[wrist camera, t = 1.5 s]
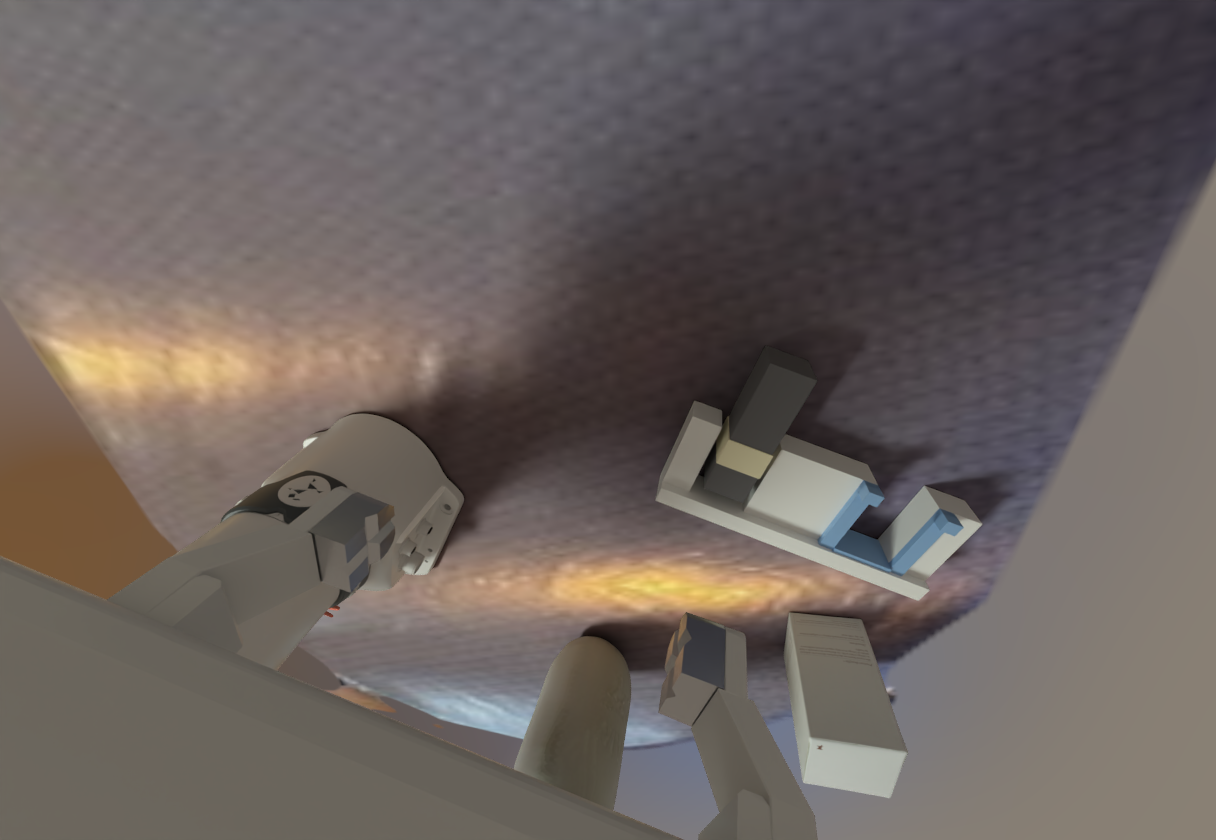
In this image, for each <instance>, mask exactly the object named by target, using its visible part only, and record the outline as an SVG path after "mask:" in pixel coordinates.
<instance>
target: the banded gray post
mask: <svg viewBox="0 0 1216 840" xmlns="http://www.w3.org/2000/svg"><path fill="white" fill-rule="evenodd" d="M816 382H817V378H816V376H815V374H814V372H813V370H812V368H811V366H810V364H809V362H808V361H807V360H805V359H802V358H799V357H796V356H794V355H791V354H788V353H785V352H783V351H780V350H777V349H774V348H772V347H769V346H766V345H765V347H764V349H763V351H762V353H761V355H760V357H759V359H758V360H757V362H756V364H755V366H754V368H753V370H752V372H751V374H750V376H749V378H748V380H747V382H746V384H745V386H744V388H743V390H742V391H741V393H740V395H739V397H738V399H737V401H736V403H735V405H734V407H733V409H732V411H731V413H730V415H729V416H727V418H726V420H725V422H724V424H723V426H722V429H721V431H720V433H719V435H718V437H717V439H716V442H715V444H714V446H713V448H712V450H711V452H710V454H709V456H708V457H707V459H706V461H705V472H704V489H707V490H710V491H712V492H715V493H718V494H720V495H723V496H725V497H728V498H731V499H733V500H736V501H739V502H741V503H743V502H744V501H745V499H746V498H747V496H748V494H749V493H750V491H751V489H752V488H753V486H754V484H755V483H756V481H757V479H760V478H761V476H762V475H763V473H764V471H765V470H766V468H767V466H768V465H769V463H770V461H771V460H772V458H773V457H774V456H773V453H774V452H775V450H776V448H777V447H778V445H779V443H780V442H781V440H782V438H783V437H784V435H785V433H786V432H787V430H788V428H789V427H790V425H791V424H792V422H793V420H794V419H795V417H796V415H797V414H798V412H799V410H800V409H801V407H802V405H803V404H804V402H805V401H806V399H807V397H808V396H809V394H810V392H811V391H812V389H813V387H814V386H815V384H816Z"/></svg>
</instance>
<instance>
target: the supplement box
mask: <svg viewBox="0 0 1216 840" xmlns="http://www.w3.org/2000/svg"><path fill="white" fill-rule="evenodd" d="M784 661H785V667H786V673H787V680H788V687H789V693H790V700H791V707H792V714H793V721H794V726H795V734H796V740H797V746H798V754H799V759H800V766H801V772H802V779H803V782H804V783H807V784H813V785H820V786H825V787H831V788H837V789H843V790H849V791H854V792H860V793H865V794H871V795H876V796H881V797H886V798H891V795H892V792H893V790H894V787H895V784H896V781H897V779H898V776H899V773H900V771H901V769H902V766H903V764H904V762H905V760H906V757H907V755H908V751H907V748H906V746H905V743H904V740H903V738H902V735H901V732H900V729H899V726H898V724H897V721H896V718H895V715H894V712H893V709H892V706H891V703H890V700H889V697H888V694H887V691H886V688H885V685H884V682H883V679H882V676H881V673H880V670H879V667H878V664H877V661H876V658H875V656H874V653H873V650H872V647H871V644H870V641H869V639H868V636H867V633H866V630H865V627H864V624H863V622H862V620H861V619H853V618H842V617H831V616H821V615H811V614H801V613H789V617H788V625H787V633H786V640H785V648H784Z"/></svg>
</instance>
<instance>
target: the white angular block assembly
mask: <svg viewBox="0 0 1216 840" xmlns="http://www.w3.org/2000/svg"><path fill="white" fill-rule="evenodd" d="M721 429H722V410H719V409H717V408H714V407H711V406H708V405H706V404H703V403H700V402H698V401H695V400H694V402H693V405H692V407H691V409H690V411H689V413H688V415H687V418H686V420H685V422H684V424H683V426H682V429H681V431H680V433H679V435H678V437H677V439H676V442H675V444H674V446H673V448H672V450H671V453H670V455H669V457H668V459H667V461H666V463H665V466H664V468H663V470H662V472H661V474H660V479H659V484H658V490H657V495H656V500H655V501H658V502H660V503H663V504H666V505H668V506H671V507H673V508H676V509H679V510H681V511H684V512H687V513H689V514H692V515H694V516H697V517H700V518H702V519H705V520H708V521H710V522H713V523H715V524H718V525H721V526H723V527H726V528H729V529H731V530H734V531H736V532H739V533H742V534H744V535H747V536H750V537H752V538H755V539H757V540H760V541H763V542H765V543H768V544H771V545H773V546H776V547H778V548H781V549H784V550H786V551H789V552H792V553H794V554H797V555H799V556H802V557H805V558H807V559H810V560H813V561H815V562H818V563H820V564H823V565H826V566H828V567H831V568H833V569H836V570H839V571H841V572H844V573H847V574H849V575H852V576H854V577H857V578H860V579H862V580H865V581H868V582H870V583H873V584H875V585H878V586H881V587H883V588H886V589H889V590H891V591H894V592H896V593H899V594H902V595H904V596H907V597H910V598H912V599H915V600H917V601H919V600H920V599H921V598H922V597H923V596H924V595H925V594H926V593H927V592H928V591H929V588H928V586H927V584H926V582H925V580H926V579H927V578H928V577H929V576H930V575H931V574H932V573H933V572H935V571H936V570H937V569H938V568H939V567H940V566H941V565H942V564H943V563H944V562H945V561H946V560H947V559H948V558H949V557H950V556H951V555H952V554H953V553H954V552H955V551H956V550H957V549H958V548H959V547H960V546H961V545H962V544H963V543H964V542H965V541H966V540H967V539H968V538H969V537H970V536H971V535H972V534H973V533H974V532H975V531H976V530H977V529H978V528H979V527H980V526H981V525H982V523H981V521H980V520H979V519H978V517H977V516H976V515H975V514H974V512H973V511H972V510H971V508H970V507H969V506H968V504H967V503H966V502H965V500H962V499H959V498H957V497H954V496H951V495H949V494H946V493H943V492H940V491H938V490H935V489H932V488H930V487H927V486H924V487H923V488H922V489H921V490H920V491H919V492H918V493H917V495H916V496H915V497H914V498H913V499H912V500H911V502H910V503H909V504H908V505H907V506H906V507H905V508H904V510H903V511H902V512H901V513H900V514H899V515H898V516H897V518H896V519H895V520H894V521H893V522H892V523H891V525H890V526H889V527H888V528H887V529H886V530H885V531H884V533H883V534H882V535H881V536H880V537H879V538H878V539H874V538H871V537H869V536H866V535H863V534H861V533H858V532H855V531H853V530H850V527H851V526H852V525H853V524H854V522H855V521H856V520H857V519H858V517H859V516H860V515H861V514H862V512H863V511H864V510H865V509H866V507H867V506H868V505H872V506H875V507H878V505H879V504H880V503H881V502H882V501H883V499H884V498H885V497H884V496H883V494H882V492H881V490H880V488H879V486H878V484H877V482H876V480H875V478H874V476H873V474H872V472H871V470H870V468H869V466H868V465H867V464H865V463H862V462H860V461H857V460H854V459H851V458H849V457H846V456H843V455H841V454H838V453H835V452H833V451H830V450H827V449H824V448H822V447H819V446H816V445H814V444H811V443H808V442H806V441H803V440H800V439H797V438H795V437H792V436H789V435H787V434H785V435H784V437H783V438H782V440H781V442H780V443H779V445H778V447H777V448H776V450H775V452H774V453H773V456H774V457H773V458H772V460H771V461H770V463H769V465H768V466H767V468H766V470H765V471H764V473H763V475H762V476H761V478H760V479H757V481H756V483H755V484H754V486H753V488H752V489H751V491H750V493H749V494H748V496H747V498H746V499H745V501H744V502H743V503H741V502H739V501H736V500H733V499H731V498H728V497H725V496H723V495H720V494H718V493H715V492H712V491H710V490H707V489H704V477H703V476H700V475H698V474H699V472H700V470H701V468H702V466H703V464H704V462H705V460H706V458H707V456H708V454H709V452H710V450H711V448H712V446H713V444H714V442H715V440H716V439H717V437H718V435H719V433H720V431H721Z"/></svg>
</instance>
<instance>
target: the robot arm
mask: <svg viewBox="0 0 1216 840" xmlns="http://www.w3.org/2000/svg"><path fill="white" fill-rule="evenodd" d="M303 447H304V449H303V450H301V451H300V452H299V453H298V454H297V455H295V456H294V457H293V458H292V459H290V460H289V461H288V462H287V463H286V464H284V465H283V466H282V467H281V468H279V469H278V470H277V471H276V472H275V473H273V474H272V475H271V476H270V477H269V478H268V479H266V480H265V481H264V483H263V484H262V487H261V488H260V489H258V490H257V491H255V492H254V493H253V494H251V495H250V496H246V497H245V498H243V499H242V500H240V501H239V502H238V503H237V504H236V505H235V506H234V507H233V508H232V509H230V510H229V511H228V512H227V513H226V514H225V515H224V516H223V518H222V520H221V522H220V524H218V525H217V526H215V527H214V528H213V529H211V530H210V531H208V532H207V533H205V534H204V535H202V536H201V537H200V538H198V539H197V540H195V541H194V542H192V543H191V544H190V545H188V546H187V547H185V548H184V549H182V550H181V551H180V552H178V553H177V554H175V555H174V556H172V557H169V558H167V559H166V560H164V561H163V562H162V563H160V564H159V565H157V566H156V567H154V568H153V569H151V570H150V571H148V572H147V573H146V574H144V575H143V576H141V577H140V578H138V579H137V580H135V581H134V582H132V583H131V584H130V585H128V586H126V587H125V588H124V589H122V590H121V591H119V592H118V593H116V594H115V595H114V596H112V597H110V598H109V599H107V600H105V599H103V598H100V597H98V596H95V595H93V594H91V593H88V592H86V591H83V590H81V589H78V588H76V587H74V586H71V585H69V584H67V583H64V582H62V581H59V580H56V579H55V578H52V577H50V576H47V575H45V574H42V573H40V572H38V571H35V570H33V569H31V568H28V567H25V566H23V565H21V564H18V563H16V562H14V561H11V560H9V559H6V558H4V557H2V556H0V840H683V839H681V838H678V837H676V836H673V835H671V834H669V833H666V832H663V831H661V830H659V829H657V828H654V827H652V826H649V825H647V824H645V823H642V822H640V821H637V820H635V819H633V818H630V817H628V816H625V815H623V814H620V813H618V812H615V811H613V810H611V809H608V808H606V807H604V806H601V805H599V804H596V803H594V802H592V801H589V800H587V799H584V798H582V797H580V796H577V795H575V794H572V793H570V792H568V791H565V790H563V789H560V788H558V787H556V786H553V785H551V784H548V783H546V782H544V781H541V780H539V779H536V778H534V777H532V776H529V775H527V774H524V773H522V772H519V771H517V770H515V769H512V768H510V767H507V766H505V765H503V764H500V763H498V762H495V761H493V760H490V759H488V758H486V757H483V756H481V755H479V754H476V753H474V752H471V751H469V750H466V749H464V748H462V747H459V746H457V745H454V744H452V743H450V742H447V741H445V740H442V739H440V738H438V737H435V736H433V735H430V734H428V733H425V732H423V731H421V730H418V729H416V728H414V727H411V726H409V725H406V724H404V723H402V722H399V721H397V720H394V719H392V718H389V717H387V716H385V715H382V714H380V713H378V712H375V711H373V710H370V709H368V708H366V707H363V706H361V705H358V704H356V703H353V702H351V701H349V700H346V699H344V698H341V697H339V696H337V695H334V694H332V693H329V692H327V691H325V690H322V689H320V688H317V687H315V686H312V685H310V684H308V683H305V682H303V681H300V680H298V679H296V678H293V677H291V676H288V675H286V674H284V673H281V672H279V671H277V669H278V668H279V667H280V666H281V665H282V663H283V662H284V661H285V660H286V659H287V657H288V656H289V655H290V654H291V652H292V651H293V650H294V649H295V647H296V646H297V645H298V644H299V643H300V641H301V640H302V639H303V638H304V637H305V635H306V634H307V633H308V632H309V631H310V630H311V628H312V627H313V626H314V625H315V624H316V623H317V621H318V620H319V619H320V618H321V617H322V616H323V615H327V616H329V617H333V615H332V614H331V613H329V612H327V610H328V609H331V610H339V609H340V607H338V606H336V605H338V604H339V603H341V602H342V601H343V600H345V599H346V598H347V597H348V598H349V597H350V596H352V595H353V594H354V593H355V591H357V590H358V589H359V590H370V591H384V590H388V589H390V588H392V587H393V586H394V585H395V584H396V583H397V582H398V581H399V580H400V579H401V577H402V576H403V575H404V574H411V575H426V574H428V573H429V572H430V571H431V570H432V568H433V567H434V565H435V563H436V561H437V559H438V556H439V554H440V552H441V550H442V548H443V546H444V543H445V541H446V539H447V537H448V535H449V533H450V531H451V528H452V526H453V524H454V522H455V520H456V518H457V516H458V513H459V511H460V509H461V507H462V505H463V503H464V497H463V495H462V493H461V492H460V490H459V489H458V488H457V487H456V486H455V485H454V484H453V483H452V482H451V481H450V480H449V479H448V478H447V477H446V476H445V474H444V473H443V471H442V469H441V467H440V465H439V463H438V462H437V460H436V458H435V457H434V455H433V454H432V452H431V451H430V450H429V449H428V447H427V446H426V445H425V444H424V443H423V442H422V441H421V440H420V439H419V438H418V437H417V436H415V435H414V434H413V433H412V432H410V431H409V430H408V429H406V428H405V427H403V426H401V425H399V424H398V423H396V422H394V421H392V420H389V419H387V418H384V417H381V416H377V415H372V414H353V415H349V416H346V417H344V418H342V419H340V420H338V421H337V422H336V423H335V424H334V425H333V426H332V427H331V428H330V429H329V430H327V431H324V432H319V433H315V434H312V435H310V436H309V437H308V438H307V439H306V440H304V442H303ZM665 670H666V672H667V677H666V679H665V681H664V683H663V685H662V690H661V697H660V705H659V712H658V713H660V714H663V715H665V716H668V717H670V718H672V719H675V720H677V721H679V722H682V723H684V724H687V725H689V726H691V727H692V728H691V729H692V732H693V735H694V738H695V741H696V744H697V747H698V750H699V753H700V756H701V759H702V762H703V765H704V768H705V771H706V774H707V777H708V780H709V783H710V786H711V789H712V792H713V795H714V797H715V800H716V803H717V806H718V809H719V812H720V813H719V814H718V815H717V816H716V817H715V818H714V819H713V820H712V821H711V822H710V823H709V824H708V825H707V827H705V828H704V830H703V831H702V832H701V833H700V834H699V836H698V840H818V839H817V830H816V822H815V815H814V813H813V812H812V810H811V808H810V806H809V804H808V802H807V800H806V799H805V797H804V795H803V793H802V791H801V789H800V787H799V785H798V784H797V782H796V780H795V778H794V776H793V774H792V772H791V770H790V769H789V767H788V765H787V763H786V761H785V759H784V757H783V756H782V754H781V752H780V750H779V748H778V746H777V744H776V742H775V741H774V739H773V737H772V735H771V733H770V731H769V729H768V728H767V726H766V724H765V722H764V720H763V718H762V716H761V714H760V713H759V711H758V709H757V707H756V705H755V703H754V701H751V700H749V699H748V694H747V657H746V637H745V634H744V633H742V632H739V631H737V630H734V629H731V628H728V627H725V626H723V625H721V624H719V623H716V622H713V621H710V620H707V619H704V618H701V617H698V616H696V615H693V614H690V613H687V612H686V613H685V614H684V615H683V617H682V618H681V620H680V628H679V630H676V631H675V632H674V634H673V636H672V639H671V641H670V644H669V648H668V651H667V656H666V662H665Z"/></svg>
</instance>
